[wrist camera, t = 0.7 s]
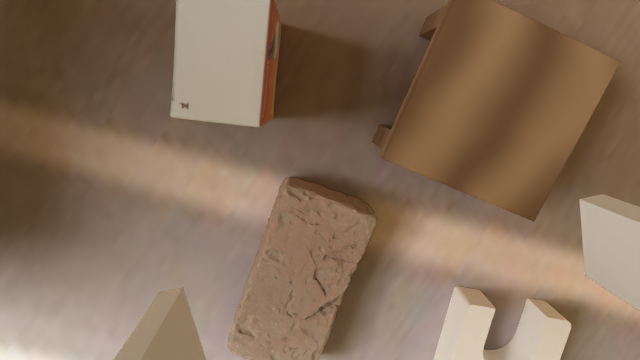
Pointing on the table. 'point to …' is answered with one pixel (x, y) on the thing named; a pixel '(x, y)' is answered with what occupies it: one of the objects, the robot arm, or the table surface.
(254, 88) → the small box
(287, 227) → the brick
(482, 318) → the block with arch cutout
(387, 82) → the table surface
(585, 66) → the brown flat-topped fixture
